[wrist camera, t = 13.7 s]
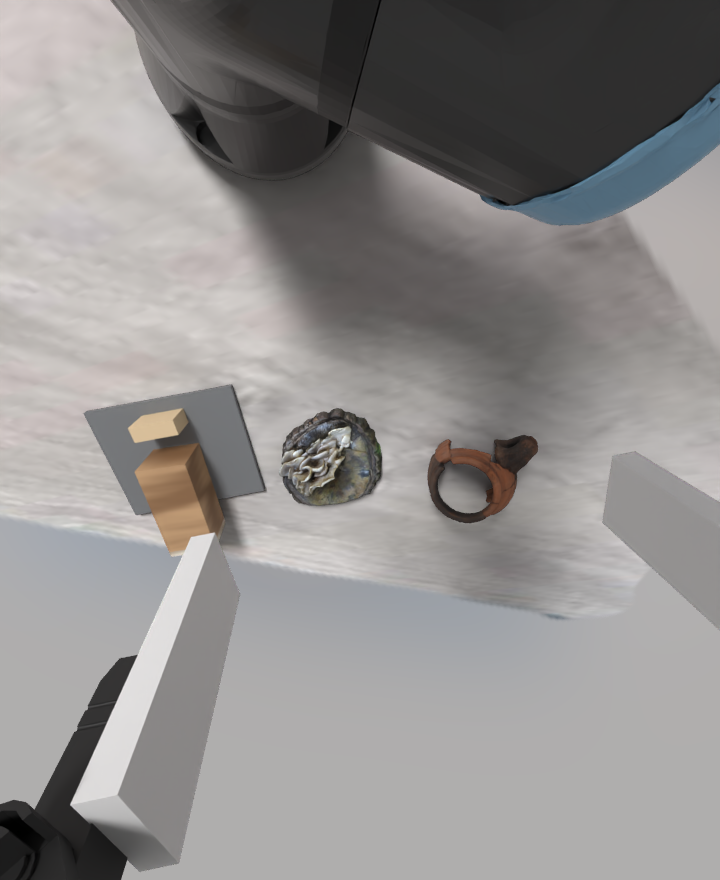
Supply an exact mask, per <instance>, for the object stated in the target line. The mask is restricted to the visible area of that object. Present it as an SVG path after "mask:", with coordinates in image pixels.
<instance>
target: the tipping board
mask: <svg viewBox="0 0 720 880" xmlns="http://www.w3.org/2000/svg"><path fill="white" fill-rule="evenodd" d="M84 415H85V417H86V419H87V421H88V423H89V425H90V427H91V429H92V431H93V433H94V435H95V437H96V439H97V441H98V443H99V445H100V446H101V448H102V450H103V452H104V454H105V456H106V458H107V460H108V462H109V464H110V466H111V468H112V470H113V472H114V474H115V476H116V478H117V479H118V481H119V483H120V485H121V487H122V489H123V491H124V493H125V495H126V497H127V499H128V501H129V503H130V505H131V507H132V509H133V511H134V512H135V514H136V515H140V514H145V513H150V512H152V511H151V509H150V507H149V504H148V502H147V500H146V497H145V495H144V493H143V491H142V488H141V486H140V484H139V481H138V479H137V477H136V475H135V471H136V469H137V468H138V467H139V466H140V465H141V464H142V462H143V461H144V460H145V459H146V458H147V457H148V455H149V454H150V453H151V452H152V451H153V450H154V449H160V448H167V447H174V446H181V445H187V444H194V443H199V445H200V448H201V451H202V454H203V457H204V460H205V463H206V466H207V469H208V472H209V475H210V477H211V480H212V483H213V486H214V489H215V492H216V495H217V498H218V499H223V498H229V497H234V496H239V495H244V494H250V493H255V492H260V491H264V489H265V487H264V484H263V481H262V478H261V475H260V471H259V468H258V465H257V462H256V459H255V456H254V453H253V449H252V446H251V443H250V440H249V437H248V434H247V431H246V428H245V424H244V421H243V418H242V415H241V412H240V409H239V406H238V402H237V399H236V396H235V393H234V390H233V387H232V385H227V386H221V387H216V388H210V389H205V390H199V391H194V392H188V393H183V394H177V395H172V396H167V397H161V398H156V399H150V400H145V401H139V402H134V403H128V404H123V405H117V406H112V407H107V408H101V409H96V410H90V411H86V412H85V413H84Z"/></svg>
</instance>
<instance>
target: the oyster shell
mask: <svg viewBox="0 0 720 880" xmlns="http://www.w3.org/2000/svg"><path fill="white" fill-rule="evenodd" d="M381 461H382V455H381V449H380V445H379V443H378V442H377V439H376V437H375V432H374V430H373V429H371V428H370V427H369V425H368V423H367V421H366V419H365V418H359V417H356V415H355V414H352V413H350V412H344V411H343V410H342V409H339V408H336V409H333V410H332V411H331V412H330V413H327V412H321V413H318V414H317V415H316V416H315V417H314V418H312V419H308V420H306V421H305V422H304V424H303V425H301V426H299V427H296V428H295V429H293V431H292V432H291V433H290V434H289V435H288V436H287V437H286V441H285V443H284V444H283V454H282V466H281V468H280V470H279V475H280V476H282V477H283V483H284V485H285V487H286V488H287V489H288V491H289V493H290V494H292V496H293V498H294V500H296V501H297V502H298V503H303V504H307V505H315V506H321V505H328V504H338V503H343V502H347V501H350V500H353V499H356V498H359V497H361V496H363V495H365V494H370V492H371V490H372V488H373V487H374V486H375V485H376V481H378V480H379V478H380V476H381Z"/></svg>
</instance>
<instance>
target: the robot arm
mask: <svg viewBox="0 0 720 880" xmlns="http://www.w3.org/2000/svg"><path fill="white" fill-rule="evenodd" d="M110 1H111V2H112V3H113V4H114V5H115V7H116V8H117V9H118V10H119V12H120V13H121V14H122V15H123V17H124V18H125V19H126V20H127V22H128V23H129V24H130V25H131V27H132V28H133V29H134V31H135V35H136V40H137V44H138V48H139V51H140V55H141V58H142V61H143V64H144V66H145V69H146V71H147V74H148V76H149V79H150V81H151V83H152V85H153V87H154V89H155V91H156V93H157V95H158V97H159V99H160V100H161V102H162V104H163V105H164V107H165V109H166V110H167V112H168V113H169V115H170V116H171V118H172V119H173V120H174V121H175V123H176V124H177V125H178V127H179V128H180V129H181V130H182V131H183V132H184V134H185V135H186V136H187V137H188V138H189V139H190V140H191V141H192V142H193V143H194V144H195V145H196V146H197V147H198V148H200V149H201V150H202V151H203V152H204V153H205V154H206V155H208V156H209V157H210V158H211V159H213V160H214V161H216V162H217V163H219V164H220V165H222V166H224V167H225V168H227V169H229V170H231V171H233V172H235V173H238V174H240V175H243V176H247V177H250V178H255V179H261V180H282V179H288V178H292V177H295V176H299V175H301V174H303V173H306V172H308V171H310V170H311V169H313V168H315V167H316V166H318V165H319V164H320V163H322V162H323V161H324V160H325V159H326V158H328V157H329V156H330V155H331V154H332V152H333V151H334V150H335V149H336V148H337V147H338V145H339V144H340V143H341V141H342V140H343V138H344V137H345V135H346V133H347V132H348V130H349V131H351V132H353V133H355V134H357V135H359V136H361V137H363V138H365V139H367V140H369V141H371V142H373V143H375V144H377V145H379V146H381V147H383V148H385V149H387V150H389V151H392V152H394V153H396V154H398V155H400V156H402V157H404V158H406V159H408V160H410V161H412V162H414V163H416V164H418V165H420V166H422V167H424V168H426V169H428V170H430V171H432V172H434V173H436V174H439V175H441V176H443V177H445V178H447V179H449V180H451V181H453V182H455V183H457V184H459V185H461V186H463V187H465V188H467V189H469V190H471V191H473V192H475V193H477V194H479V195H480V197H481V199H482V200H483V201H484V202H486V203H488V204H489V205H491V206H494V207H496V208H498V209H503V210H513V211H517V212H520V213H522V214H524V215H527V216H529V217H531V218H534V219H536V220H539V221H541V222H544V223H547V224H551V225H559V226H560V225H580V224H586V223H591V222H594V221H597V220H600V219H603V218H606V217H609V216H612V215H614V214H616V213H619V212H621V211H623V210H625V209H627V208H629V207H631V206H633V205H635V204H637V203H639V202H641V201H642V200H644V199H646V198H647V197H649V196H651V195H652V194H654V193H656V192H657V191H659V190H660V189H662V188H663V187H664V186H666V185H668V184H669V183H671V182H672V181H673V180H675V179H676V178H678V177H679V176H680V175H682V174H683V173H685V172H686V171H687V170H688V169H690V168H691V167H692V166H694V165H695V164H696V163H698V162H699V161H700V160H701V159H703V158H704V157H705V156H706V155H708V154H709V153H710V152H711V151H712V150H714V149H715V148H716V147H717V146H718V145H719V144H720V0H110ZM602 523H603V524H604V525H606V526H607V527H608V528H609V529H610V530H611V531H612V532H613V533H614V534H615V535H616V536H618V537H619V538H620V539H621V540H622V541H623V542H624V543H625V544H626V545H627V546H628V547H630V548H631V549H632V550H633V551H634V552H635V553H636V554H637V555H638V556H639V557H640V558H642V559H643V560H644V561H645V562H646V563H647V564H648V565H649V566H650V567H651V568H652V569H653V570H655V571H656V572H657V573H658V574H659V575H660V576H661V577H662V578H663V579H664V580H665V581H667V582H668V583H669V584H670V585H671V586H672V587H673V588H674V589H675V590H676V591H677V592H679V593H680V594H681V595H682V596H683V597H684V598H685V599H686V600H687V601H688V602H689V603H691V604H692V605H693V606H694V607H695V608H696V609H697V610H698V611H699V612H700V613H701V614H702V615H704V616H705V617H706V618H707V619H708V620H709V621H710V622H711V623H712V624H713V625H714V626H716V627H717V628H718V629H719V630H720V502H718V501H717V500H715V499H713V498H712V497H710V496H708V495H707V494H705V493H703V492H702V491H700V490H698V489H697V488H695V487H693V486H692V485H690V484H688V483H687V482H685V481H683V480H682V479H680V478H678V477H677V476H675V475H673V474H672V473H670V472H668V471H667V470H665V469H663V468H662V467H660V466H658V465H657V464H655V463H653V462H652V461H650V460H648V459H647V458H645V457H643V456H642V455H640V454H638V453H637V452H630V453H625V454H619V455H614V456H612V462H611V469H610V476H609V482H608V489H607V495H606V502H605V508H604V515H603V521H602ZM239 597H240V592H239V589H238V587H237V585H236V582H235V580H234V577H233V575H232V573H231V570H230V568H229V565H228V563H227V560H226V558H225V556H224V553H223V551H222V548H221V546H220V543H219V541H218V539H217V536H216V534H215V533H210V534H204V535H199V536H194V537H191V538H190V541H189V543H188V545H187V547H186V550H185V552H184V554H183V556H182V559H181V561H180V563H179V565H178V567H177V569H176V572H175V574H174V576H173V578H172V580H171V583H170V585H169V587H168V589H167V592H166V594H165V596H164V598H163V601H162V603H161V605H160V607H159V609H158V612H157V614H156V616H155V618H154V621H153V623H152V625H151V627H150V629H149V632H148V634H147V636H146V638H145V640H144V642H143V645H142V647H141V649H140V651H139V654H138V655H135V656H130V657H125V658H121V659H119V660H118V661H117V662H116V663H115V665H114V666H113V667H112V668H111V669H110V670H109V672H108V673H107V674H106V675H105V676H104V677H103V679H102V680H101V681H100V683H99V685H98V687H97V689H96V691H95V693H94V695H93V697H92V699H91V701H90V703H89V705H88V710H86V711H85V712H84V714H83V716H82V718H81V720H80V722H79V724H78V726H77V727H78V729H77V731H76V732H74V734H73V736H72V738H71V740H70V742H69V744H68V746H67V747H66V749H65V751H64V753H63V755H62V757H61V759H60V761H59V763H58V765H57V767H56V769H55V771H54V773H53V775H52V777H51V779H50V781H49V783H48V785H47V786H46V788H45V790H44V793H43V794H42V796H41V798H40V800H39V802H38V804H37V806H36V808H35V810H34V809H33V808H32V807H31V806H30V805H28V804H27V803H26V802H22V801H17V800H12V801H9V802H6V803H3V804H0V880H121V878H122V875H123V871H124V868H125V865H126V862H127V860H128V861H129V862H130V863H131V864H132V865H133V866H134V867H135V868H136V869H137V870H138V871H139V872H141V871H145V870H150V869H155V868H159V867H163V866H168V865H174V864H178V863H179V861H180V856H181V852H182V848H183V843H184V839H185V834H186V830H187V825H188V821H189V817H190V812H191V808H192V804H193V799H194V795H195V791H196V786H197V782H198V777H199V773H200V769H201V764H202V759H203V755H204V751H205V746H206V742H207V738H208V733H209V729H210V725H211V720H212V716H213V711H214V707H215V703H216V698H217V694H218V690H219V685H220V681H221V676H222V672H223V667H224V663H225V659H226V654H227V650H228V646H229V641H230V636H231V632H232V628H233V624H234V619H235V614H236V610H237V606H238V601H239Z"/></svg>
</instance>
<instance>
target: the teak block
mask: <svg viewBox="0 0 720 880" xmlns="http://www.w3.org/2000/svg"><path fill="white" fill-rule="evenodd" d="M135 475H136V477H137V479H138V481H139V484H140V486H141V488H142V491H143V493H144V495H145V497H146V500H147V502H148V504H149V507H150V509H151V511H152V514H153V516H154V518H155V520H156V523H157V525H158V527H159V530H160V532H161V534H162V537H163V539H164V541H165V543H166V546H167V548H168V550H169V553H170V555H171V557H172V556H179V555H183V554H184V552H185V550H186V547H187V545H188V543H189V541H190V538H191V537H194V536H199V535H204V534H210V533H215V534H216V536H217V539H218V541H219V540H220V537H221V534H222V531H223V528H224V525H225V519H224V516H223V513H222V510H221V507H220V504H219V501H218V498H217V495H216V492H215V489H214V486H213V483H212V480H211V477H210V475H209V472H208V469H207V466H206V463H205V460H204V457H203V454H202V451H201V448H200V445H199V443H194V444H187V445H181V446H174V447H167V448H160V449H154V450H153V451H152V452H151V453H150V454H149V455H148V457H147V458H146V459H145V460H144V461H143V462H142V464H141V465H140V466H139V467H138V468H137V469H136V471H135Z"/></svg>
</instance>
